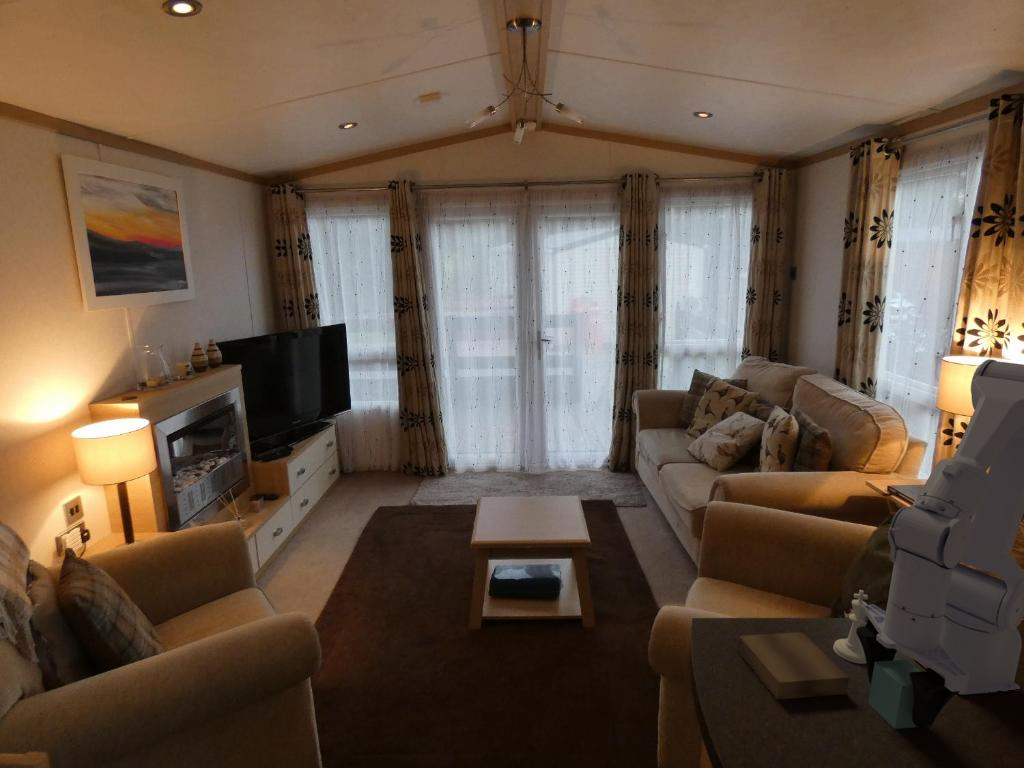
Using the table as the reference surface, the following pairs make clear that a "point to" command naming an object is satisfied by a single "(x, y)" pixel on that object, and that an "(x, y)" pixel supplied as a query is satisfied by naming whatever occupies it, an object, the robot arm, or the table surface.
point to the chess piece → (853, 635)
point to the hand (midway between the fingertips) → (898, 702)
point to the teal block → (893, 692)
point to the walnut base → (792, 665)
